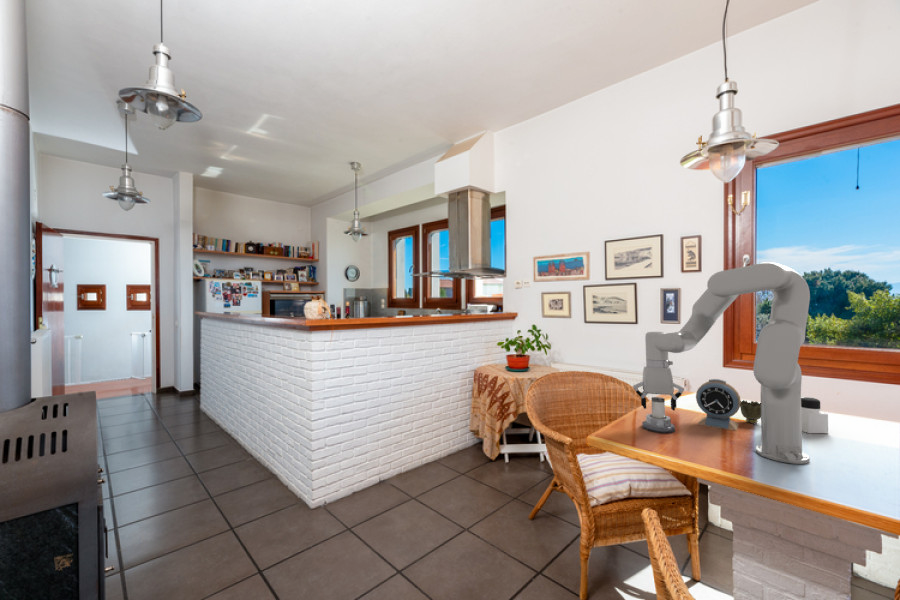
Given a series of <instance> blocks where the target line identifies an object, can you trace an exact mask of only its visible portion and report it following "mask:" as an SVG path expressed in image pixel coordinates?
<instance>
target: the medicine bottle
mask: <svg viewBox="0 0 900 600" xmlns="http://www.w3.org/2000/svg"><path fill="white" fill-rule="evenodd" d="M801 424H802V432H803V431H804V432H803V433H806V432H807V434H808V433H827V434H829V415H828V413H826V412H822V411H821V400H819V399H818V398H815V397H809V396H801Z"/></svg>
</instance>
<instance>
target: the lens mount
mask: <svg viewBox="0 0 900 600" xmlns="http://www.w3.org/2000/svg"><path fill="white" fill-rule="evenodd" d="M671 421H672V420H671V417H670V416H668V415H666V414H665V419H656V418H652V413H648V414H646V415H645V420H644V421H642V422H641V423H642V424H641V426H642V429H644V430H646V431H648V432H652V433H656V434H672V433H675V432H676V426H675V425H674V424H673V423H671Z"/></svg>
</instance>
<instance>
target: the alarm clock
mask: <svg viewBox="0 0 900 600" xmlns="http://www.w3.org/2000/svg"><path fill="white" fill-rule="evenodd" d="M695 400H696V404H697V405H698V407H699V408H700V410H701V411H702V412H704V413H705V414H706V416H704V417H701V418H700V420H699V421H698V423H697V425H698V424H699V425H700V426H704V425H706V426H705V427H710V426H712V427H711V428H716V427H717V429H722V428H723V429H724V430H728V429H729V431H734V430H735V431H734V432H737V431H738V429H739V426H740V423H738V422H736V421H734V420H731V417H733V416H734V415H736V414H737V413H738V412H739V409H741V408H740V404H741V402H742V399H741V396H740V394H739V392H738V391H737V389H736V388H735V387H733V386H732V385H731V384H730V383H727V381H726V380H724V379H720V378H719V379H718V378H711V379H708V381H706V382H705V383H702V384H701V385H700V386H699V387H698V388H697V390H696V394H695ZM737 428H738V429H737Z"/></svg>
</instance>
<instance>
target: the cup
mask: <svg viewBox="0 0 900 600" xmlns="http://www.w3.org/2000/svg"><path fill="white" fill-rule="evenodd" d="M739 409H740V412H741V415H742V416H743V417H744V418H745V421H746V423H748V424H752V423H756V424H758V422H759V421H758V420H759V419H760V420H761V402H758V401H757V400H756V401H754V400H751V401H749V402H748V401H747V400H744V399H743V400H741V404H740V408H739Z"/></svg>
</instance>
